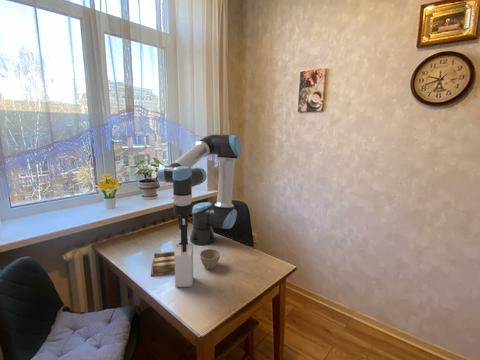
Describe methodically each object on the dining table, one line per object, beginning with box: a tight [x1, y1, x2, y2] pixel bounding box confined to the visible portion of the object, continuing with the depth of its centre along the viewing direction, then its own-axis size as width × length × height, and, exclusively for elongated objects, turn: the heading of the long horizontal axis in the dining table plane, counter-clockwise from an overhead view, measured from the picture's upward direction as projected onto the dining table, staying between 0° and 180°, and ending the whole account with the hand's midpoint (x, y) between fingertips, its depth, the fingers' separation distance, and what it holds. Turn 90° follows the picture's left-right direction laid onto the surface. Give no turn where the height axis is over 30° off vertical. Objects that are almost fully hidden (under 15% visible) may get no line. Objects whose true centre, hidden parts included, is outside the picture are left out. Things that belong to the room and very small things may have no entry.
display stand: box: [150, 250, 175, 277], centre depth 123 cm, size 16×14×4 cm
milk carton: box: [174, 242, 194, 288], centre depth 109 cm, size 7×7×19 cm
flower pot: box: [199, 248, 221, 270], centre depth 123 cm, size 10×10×7 cm
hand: (183, 250), depth 108 cm, fingers open, 13 cm apart
